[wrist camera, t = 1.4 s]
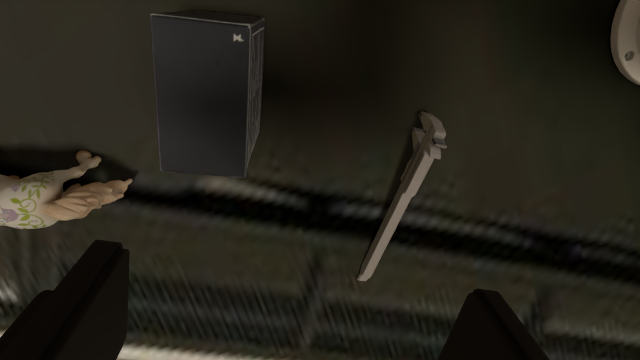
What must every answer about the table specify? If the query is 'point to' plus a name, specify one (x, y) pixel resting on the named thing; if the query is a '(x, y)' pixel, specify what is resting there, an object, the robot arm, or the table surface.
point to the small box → (207, 90)
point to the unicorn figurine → (54, 195)
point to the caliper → (407, 186)
